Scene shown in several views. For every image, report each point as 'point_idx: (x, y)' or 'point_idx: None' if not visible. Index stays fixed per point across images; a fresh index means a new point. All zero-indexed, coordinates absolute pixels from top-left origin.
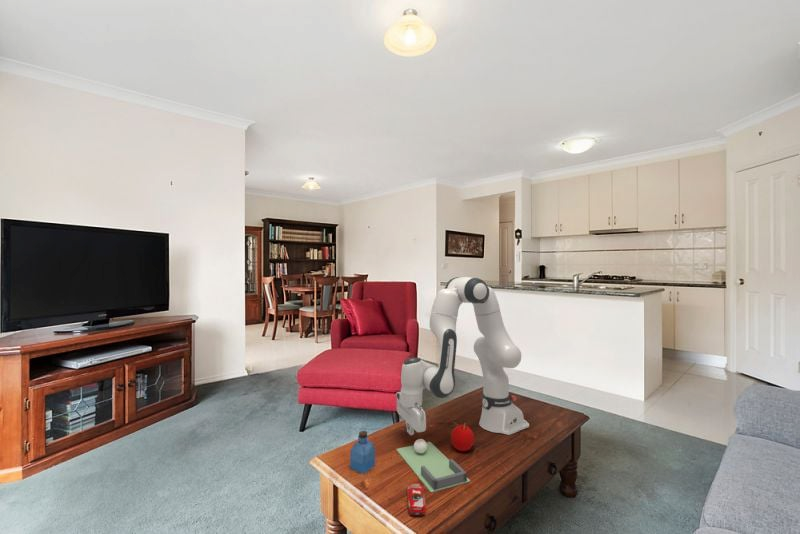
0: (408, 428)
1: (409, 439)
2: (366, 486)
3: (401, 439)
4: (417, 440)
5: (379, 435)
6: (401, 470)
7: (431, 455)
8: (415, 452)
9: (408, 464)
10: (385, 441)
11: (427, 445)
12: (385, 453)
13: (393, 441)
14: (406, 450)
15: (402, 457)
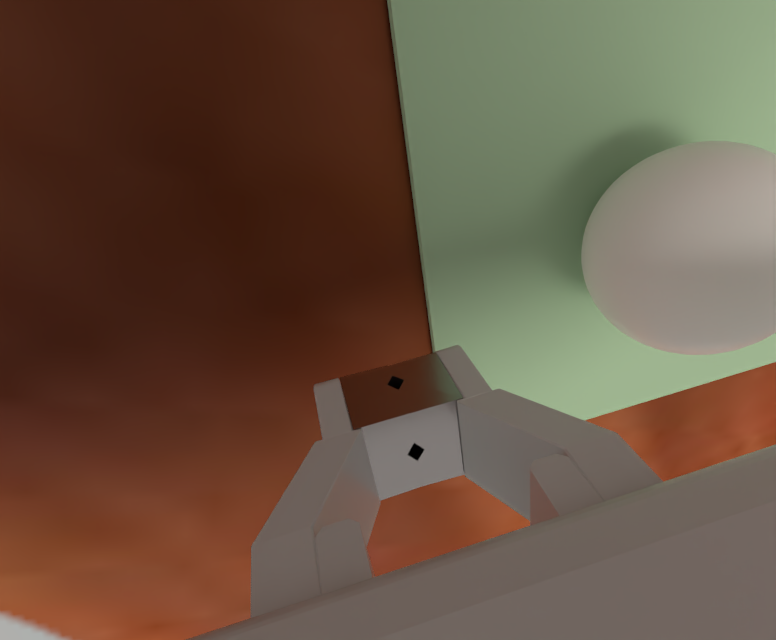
0: (379, 487)
1: (211, 287)
2: None
3: (204, 393)
4: (745, 340)
5: (82, 606)
6: (749, 424)
7: (753, 82)
8: None
9: (730, 373)
10: (243, 546)
11: (494, 39)
12: (476, 530)
13: (252, 478)
14: (514, 368)
15: (600, 408)
